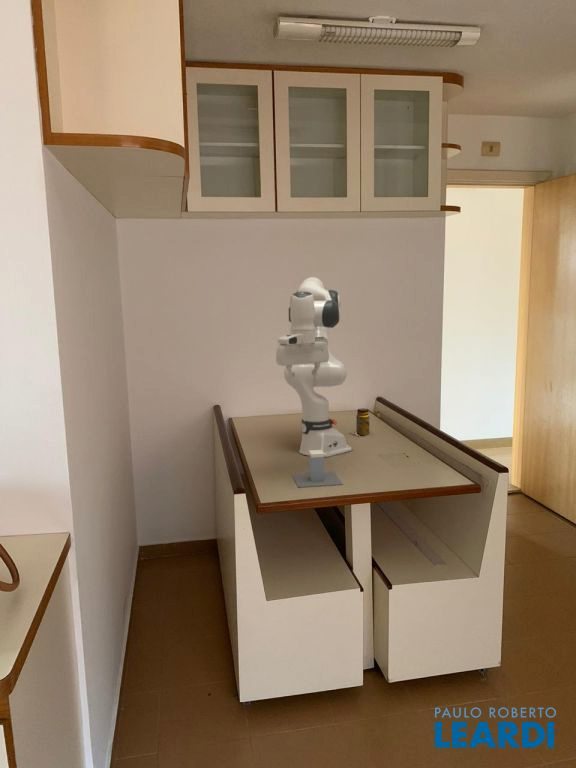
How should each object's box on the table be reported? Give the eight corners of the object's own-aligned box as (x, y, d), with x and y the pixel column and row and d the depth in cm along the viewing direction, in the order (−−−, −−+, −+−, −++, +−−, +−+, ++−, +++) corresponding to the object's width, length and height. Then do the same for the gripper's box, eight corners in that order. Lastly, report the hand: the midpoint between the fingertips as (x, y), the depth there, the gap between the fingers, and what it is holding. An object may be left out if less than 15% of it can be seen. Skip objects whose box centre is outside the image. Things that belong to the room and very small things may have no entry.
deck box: (321, 476, 215) (321, 449, 213) (324, 480, 210) (324, 453, 208) (309, 477, 214) (308, 450, 212) (311, 481, 209) (311, 454, 207)
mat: (334, 472, 220) (334, 471, 220) (343, 484, 206) (343, 483, 206) (291, 475, 217) (291, 474, 217) (298, 487, 204) (298, 486, 204)
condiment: (372, 434, 276) (373, 409, 274) (357, 437, 272) (357, 411, 270) (364, 431, 283) (364, 407, 281) (349, 433, 279) (349, 409, 277)
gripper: (322, 335, 217) (323, 372, 219) (273, 338, 207) (274, 377, 210) (332, 336, 211) (332, 374, 214) (282, 340, 202) (282, 379, 204)
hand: (303, 376), depth 211 cm, fingers open, 8 cm apart
